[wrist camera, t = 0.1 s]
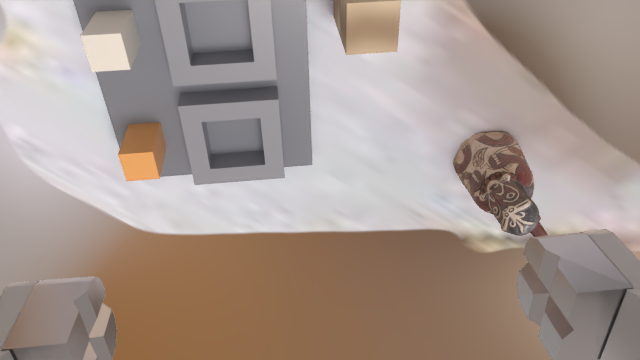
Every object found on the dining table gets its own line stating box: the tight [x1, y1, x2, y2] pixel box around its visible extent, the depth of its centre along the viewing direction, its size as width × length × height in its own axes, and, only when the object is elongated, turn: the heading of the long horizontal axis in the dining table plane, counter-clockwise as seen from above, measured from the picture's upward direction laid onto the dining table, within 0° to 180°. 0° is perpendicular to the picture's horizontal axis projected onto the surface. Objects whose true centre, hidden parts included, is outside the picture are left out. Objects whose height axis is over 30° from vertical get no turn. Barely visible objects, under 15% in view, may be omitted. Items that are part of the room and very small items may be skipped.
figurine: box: [454, 131, 547, 237], centre depth 54 cm, size 7×7×12 cm
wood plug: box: [334, 0, 401, 55], centre depth 43 cm, size 4×4×8 cm
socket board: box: [73, 0, 312, 185], centre depth 47 cm, size 21×19×6 cm
